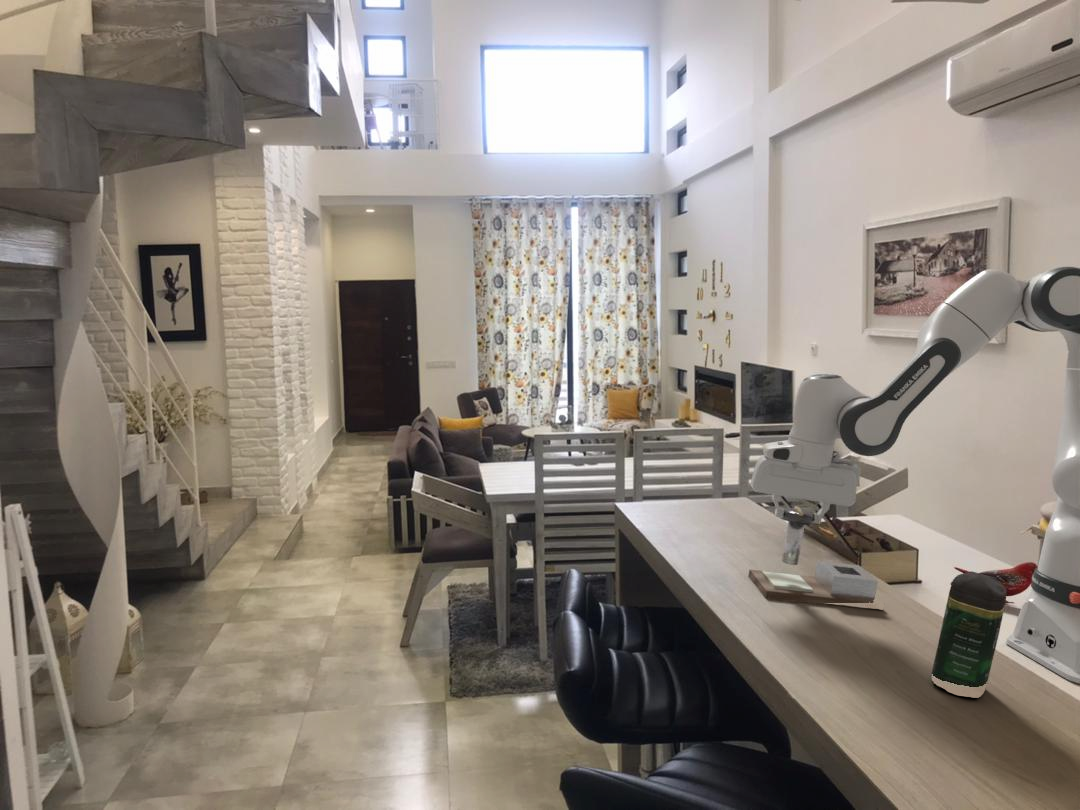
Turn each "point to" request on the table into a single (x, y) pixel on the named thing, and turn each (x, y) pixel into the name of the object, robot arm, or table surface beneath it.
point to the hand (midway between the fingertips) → (797, 519)
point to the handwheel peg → (795, 533)
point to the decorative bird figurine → (1012, 577)
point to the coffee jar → (970, 630)
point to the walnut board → (796, 588)
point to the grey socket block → (845, 580)
